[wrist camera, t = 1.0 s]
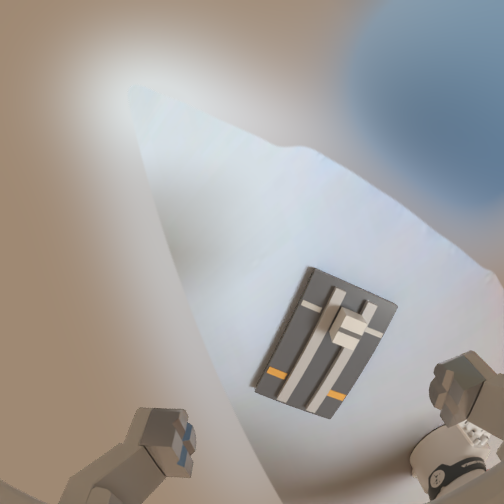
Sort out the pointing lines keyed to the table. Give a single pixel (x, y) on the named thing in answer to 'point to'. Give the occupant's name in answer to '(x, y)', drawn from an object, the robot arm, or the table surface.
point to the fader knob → (347, 328)
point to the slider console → (323, 346)
